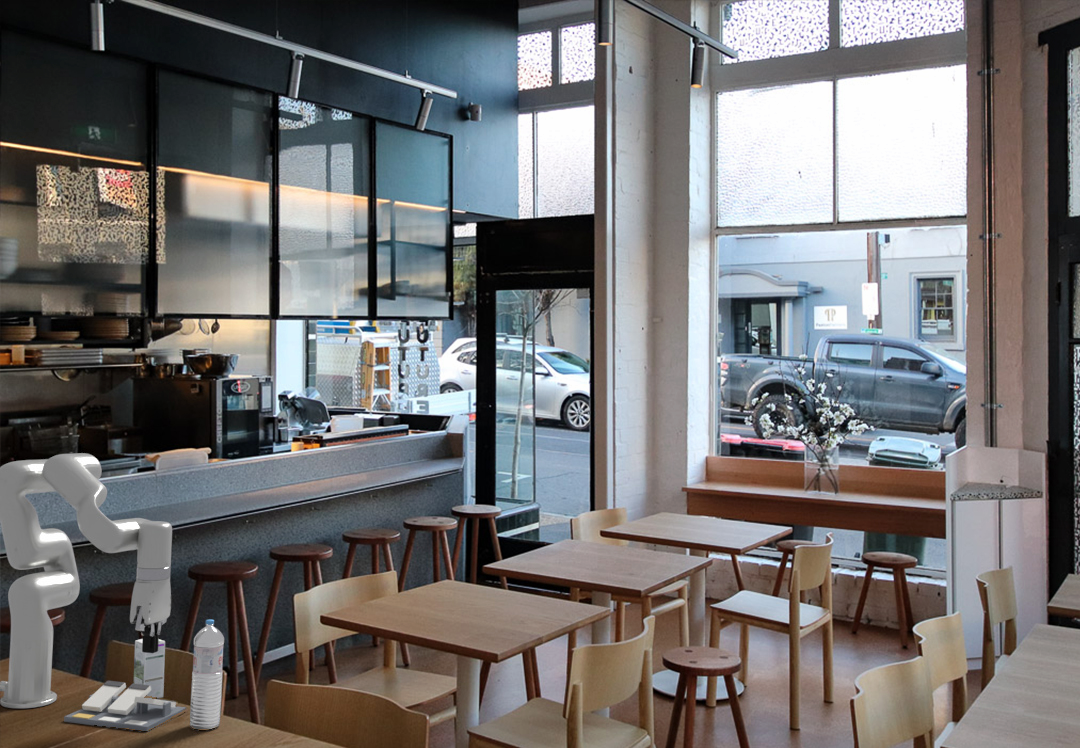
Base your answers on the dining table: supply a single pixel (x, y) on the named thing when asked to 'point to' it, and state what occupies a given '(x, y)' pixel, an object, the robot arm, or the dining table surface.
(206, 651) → the water bottle
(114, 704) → the switch mid
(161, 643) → the syrup box
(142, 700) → the switch
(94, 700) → the switch
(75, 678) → the dining table surface
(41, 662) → the robot arm
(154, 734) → the dining table surface
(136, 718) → the console
